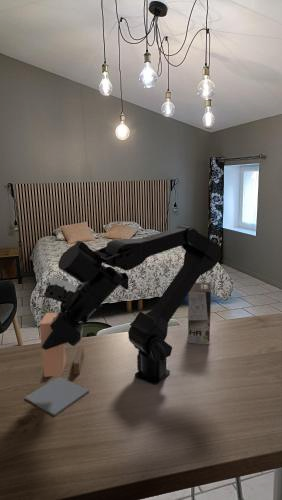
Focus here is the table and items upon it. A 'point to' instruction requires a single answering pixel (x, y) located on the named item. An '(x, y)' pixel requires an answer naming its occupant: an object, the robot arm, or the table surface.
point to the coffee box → (199, 313)
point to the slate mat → (56, 395)
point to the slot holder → (78, 360)
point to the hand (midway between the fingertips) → (46, 341)
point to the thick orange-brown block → (51, 349)
